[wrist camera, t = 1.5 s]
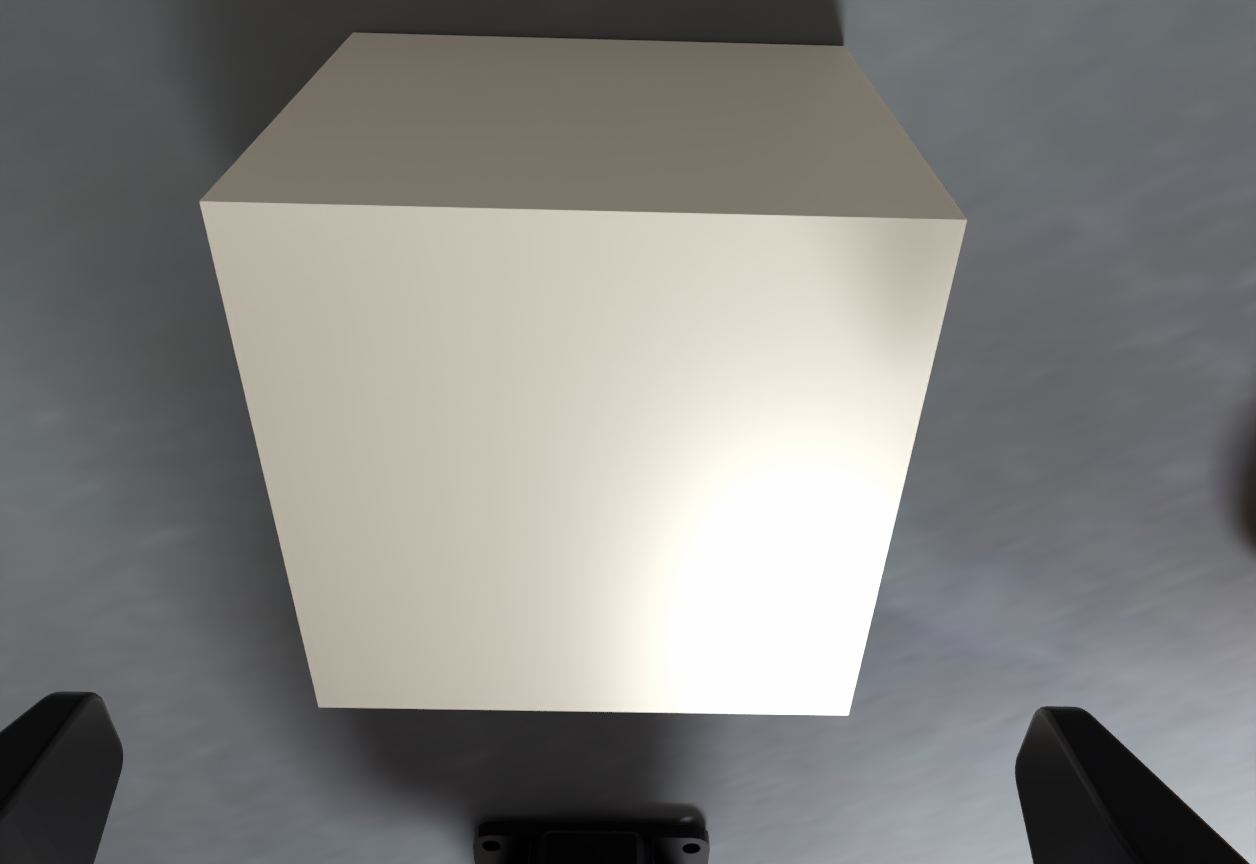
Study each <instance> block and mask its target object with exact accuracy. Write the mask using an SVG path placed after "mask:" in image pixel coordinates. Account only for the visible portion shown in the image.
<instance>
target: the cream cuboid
mask: <svg viewBox="0 0 1256 864" xmlns="http://www.w3.org/2000/svg"><path fill="white" fill-rule="evenodd" d="M199 202H200V206H201V211H202V215H203V219H204V223H205V228H206V232H207V236H208V240H209V245H210V249H211V253H212V257H213V262H214V266H215V270H216V274H217V279H218V283H219V287H220V291H221V296H222V300H223V304H224V308H225V313H226V317H227V321H228V325H229V329H230V334H231V338H232V342H233V346H234V351H235V355H236V359H237V363H238V368H239V372H240V376H241V380H242V385H243V389H244V393H245V397H246V402H247V406H248V410H249V414H250V419H251V423H252V427H253V431H254V436H255V440H256V444H257V448H258V453H259V457H260V461H261V465H262V470H263V474H264V478H265V482H266V487H267V491H268V495H269V499H270V503H271V508H272V512H273V516H274V520H275V525H276V529H277V533H278V537H279V542H280V546H281V550H282V554H283V559H284V563H285V567H286V571H287V576H288V580H289V584H290V588H291V593H292V597H293V601H294V605H295V610H296V614H297V618H298V622H299V627H300V631H301V635H302V639H303V644H304V648H305V652H306V656H307V661H308V665H309V669H310V673H311V678H312V682H313V686H314V690H315V694H316V699H317V703H318V707H324V708H389V709H454V710H519V711H584V712H649V713H714V714H779V715H844V716H848V715H849V711H850V707H851V703H852V699H853V694H854V690H855V686H856V682H857V678H858V674H859V669H860V665H861V661H862V657H863V653H864V649H865V644H866V640H867V636H868V632H869V628H870V623H871V619H872V615H873V611H874V607H875V603H876V598H877V594H878V590H879V586H880V582H881V577H882V573H883V569H884V565H885V561H886V557H887V552H888V548H889V544H890V540H891V536H892V532H893V527H894V523H895V519H896V515H897V511H898V506H899V502H900V498H901V494H902V490H903V486H904V481H905V477H906V473H907V469H908V465H909V460H910V456H911V452H912V448H913V444H914V440H915V435H916V431H917V427H918V423H919V419H920V415H921V410H922V406H923V402H924V398H925V394H926V389H927V385H928V381H929V377H930V373H931V369H932V364H933V360H934V356H935V352H936V348H937V343H938V339H939V335H940V331H941V327H942V323H943V318H944V314H945V310H946V306H947V302H948V297H949V293H950V289H951V285H952V281H953V277H954V272H955V268H956V264H957V260H958V256H959V252H960V247H961V243H962V239H963V235H964V231H965V226H966V222H967V219H966V218H965V216H964V215H963V213H962V212H961V211H960V209H959V208H958V206H957V205H956V203H955V202H954V201H953V199H952V198H951V196H950V195H949V193H948V192H947V191H946V189H945V188H944V186H943V185H942V184H941V182H940V181H939V179H938V178H937V176H936V175H935V174H934V172H933V171H932V169H931V168H930V166H929V165H928V164H927V162H926V161H925V159H924V158H923V157H922V155H921V154H920V152H919V151H918V149H917V148H916V147H915V145H914V144H913V142H912V141H911V139H910V138H909V137H908V135H907V134H906V132H905V131H904V130H903V128H902V127H901V125H900V124H899V122H898V121H897V120H896V118H895V117H894V115H893V114H892V113H891V111H890V110H889V108H888V107H887V105H886V104H885V103H884V101H883V100H882V98H881V97H880V95H879V94H878V93H877V91H876V90H875V88H874V87H873V86H872V84H871V83H870V81H869V80H868V78H867V77H866V76H865V74H864V73H863V71H862V70H861V68H860V67H859V66H858V64H857V63H856V61H855V60H854V59H853V57H852V56H851V54H850V53H849V51H848V50H847V49H846V47H845V46H825V45H788V44H752V43H715V42H678V41H642V40H605V39H568V38H531V37H495V36H458V35H421V34H385V33H352V34H351V35H350V36H349V37H348V39H347V40H346V41H345V42H344V43H343V44H342V45H341V46H340V47H339V48H338V50H337V51H336V52H335V53H334V54H333V55H332V56H331V57H330V58H329V59H328V61H327V62H326V63H325V64H324V65H323V66H322V67H321V68H320V69H319V70H318V71H317V73H316V74H315V75H314V76H313V77H312V78H311V79H310V80H309V81H308V82H307V84H306V85H305V86H304V87H303V88H302V89H301V90H300V91H299V92H298V93H297V95H296V96H295V97H294V98H293V99H292V100H291V101H290V102H289V103H288V104H287V106H286V107H285V108H284V109H283V110H282V111H281V112H280V113H279V114H278V115H277V116H276V118H275V119H274V120H273V121H272V122H271V123H270V124H269V125H268V126H267V127H266V129H265V130H264V131H263V132H262V133H261V134H260V135H259V136H258V137H257V138H256V140H255V141H254V142H253V143H252V144H251V145H250V146H249V147H248V148H247V149H246V151H245V152H244V153H243V154H242V155H241V156H240V157H239V158H238V159H237V160H236V162H235V163H234V164H233V165H232V166H231V167H230V168H229V169H228V170H227V171H226V172H225V174H224V175H223V176H222V177H221V178H220V179H219V180H218V181H217V182H216V183H215V185H214V186H213V187H212V188H211V189H210V190H209V191H208V192H207V193H206V194H205V196H204V197H203V198H202V199H201V200H200V201H199Z"/></svg>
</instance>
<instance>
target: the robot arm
mask: <svg viewBox="0 0 1256 864" xmlns="http://www.w3.org/2000/svg"><path fill="white" fill-rule="evenodd" d="M122 764H123V749H122V745H121V742H120V739H119V737H118V735H117V732H116V730H115V727H114V725H113V723H112V720H111V718H110V716H109V713H108V711H107V708H106V706H105V704H104V701H103V700H102V698H101V697H100V696H98V695H97V694H96V693H93V692H55V693H52V694H50V695H48V696H46V697H44V698H43V699H41V700H40V701H39V702H37V703H36V704H35V705H34V706H32V707H31V708H30V709H29V710H27V711H26V712H25V713H24V714H22V715H21V716H20V717H19V718H17V719H16V720H15V721H14V722H12V723H11V724H10V725H8V726H7V727H6V728H5V729H3V730H2V731H1V732H0V864H94V861H95V858H96V854H97V851H98V848H99V844H100V841H101V838H102V834H103V831H104V827H105V824H106V821H107V817H108V814H109V811H110V807H111V804H112V800H113V797H114V794H115V790H116V787H117V784H118V780H119V777H120V773H121V769H122ZM1015 777H1016V784H1017V789H1018V794H1019V799H1020V803H1021V808H1022V813H1023V817H1024V822H1025V826H1026V831H1027V836H1028V840H1029V845H1030V850H1031V854H1032V859H1033V864H1249V863H1248V862H1247V861H1246V860H1245V859H1244V858H1243V857H1242V856H1241V855H1240V854H1239V853H1238V852H1237V851H1236V850H1234V849H1233V848H1232V847H1231V846H1230V845H1229V844H1228V843H1227V842H1226V841H1225V840H1224V839H1223V838H1222V837H1221V836H1220V835H1219V834H1217V833H1216V832H1215V831H1214V830H1213V829H1212V828H1211V827H1210V826H1209V825H1208V824H1207V823H1206V822H1205V821H1204V820H1203V819H1202V818H1200V817H1199V816H1198V815H1197V814H1196V813H1195V812H1194V811H1193V810H1192V809H1191V808H1190V807H1189V806H1188V805H1187V804H1186V803H1185V802H1183V801H1182V800H1181V799H1180V798H1179V797H1178V796H1177V795H1176V794H1175V793H1174V792H1173V791H1172V790H1171V789H1170V788H1169V787H1168V786H1166V785H1165V784H1164V783H1163V782H1162V781H1161V780H1160V779H1159V778H1158V777H1157V776H1156V775H1155V774H1154V773H1153V772H1152V771H1151V770H1149V769H1148V768H1147V767H1146V766H1145V765H1144V764H1143V763H1142V762H1141V761H1140V760H1139V759H1138V758H1137V757H1136V756H1135V755H1134V754H1132V753H1131V752H1130V751H1129V750H1128V749H1127V748H1126V747H1125V746H1124V745H1123V744H1122V743H1121V742H1120V741H1119V740H1118V739H1116V738H1115V737H1114V736H1113V735H1112V734H1111V733H1110V732H1109V731H1108V730H1107V729H1106V728H1105V727H1104V726H1103V725H1102V724H1101V723H1099V722H1098V721H1097V720H1096V719H1095V718H1094V717H1093V716H1092V715H1091V714H1090V713H1088V712H1087V711H1085V710H1083V709H1081V708H1078V707H1055V706H1046V707H1041V708H1040V709H1038V710H1037V711H1036V712H1035V714H1034V716H1033V718H1032V720H1031V723H1030V725H1029V728H1028V730H1027V733H1026V735H1025V738H1024V741H1023V743H1022V746H1021V748H1020V751H1019V753H1018V756H1017V759H1016V765H1015ZM473 849H474V858H475V864H708V857H709V849H710V848H709V835H708V831H707V830H706V829H705V828H703V827H700V826H697V825H669V824H594V823H520V822H488V823H483V824H481V825H479V826H478V827H477V828H476V830H475V836H474V843H473Z"/></svg>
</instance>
